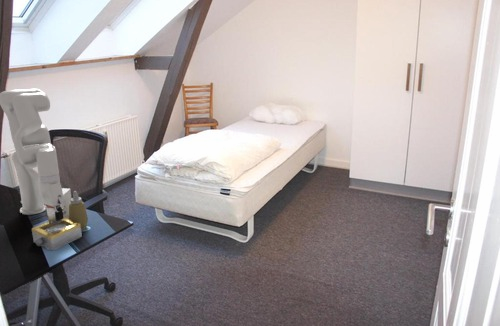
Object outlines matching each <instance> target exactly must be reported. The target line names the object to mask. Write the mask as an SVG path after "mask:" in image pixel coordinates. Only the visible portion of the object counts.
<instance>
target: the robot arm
mask: <svg viewBox="0 0 500 326" xmlns="http://www.w3.org/2000/svg"><path fill="white" fill-rule="evenodd" d="M0 107H1V109H2V111H3V113H4V114H5V116H6V117H7V120H8V125H9V131H10V136H11V140H12V142H13V146H14V150H15V151H14V152H13V153H12V157H11V158H12V163H13V165H14V168H15V172H16V176H17V180H18V181H17V182H18V188H19V194H20V199H21V200H20V203H21V204H22V205H21V206H22V207H20V209H19V213H20V214H21V213H22V215H25V216H26V215H27V216H31V215H38V214H41V213H46V214H45V215H46V218H48V216H47V209H46V205H49V206H52V207H54V208H55V211H56V212H55V218H56V221H59V220H61V219H63V208H64V207H65V204H64V197H63V192H62V184H61V182H60V181H61V179H60V170H59V165H58V162H59V161H58V155H57V149H56V147H55V145H53V144H52V142H51V141H52V140H51V136H50V131H49V129H48V128H47V126H46V125H44V124H43V121H42V119H41V116H40V113H43V112H48V111H49V110H50V108H51V101H50V99H49V97H48V95H47V94H46V92H44V91H42V90H41V89H39V88H30V89H29V88H28V89H27V88H25V89H11V90H4V91H2V92H1V91H0ZM35 168H37V171H36V170H35ZM57 203H59V204H57ZM57 206H59V207H58V208H57Z"/></svg>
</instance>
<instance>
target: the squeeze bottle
mask: <svg viewBox="0 0 500 326" xmlns="http://www.w3.org/2000/svg"><path fill="white" fill-rule="evenodd" d="M72 195H73V196H72V197H71V199H70V201H71V203H70V204H69V219H70V220H72V221H75V222H78V223H80V225H81V231H82V230H83V229H86V227H87V226H88V222H89V218H88V217H89V216H88V212H87V208H86V205H85V202H84V201H83V199H82V197H80V196H79V194H78V192H77V190H74V191H73V194H72Z"/></svg>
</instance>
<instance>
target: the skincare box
mask: <svg viewBox="0 0 500 326" xmlns="http://www.w3.org/2000/svg"><path fill="white" fill-rule="evenodd" d="M62 192H63V197H64V204H65V207H64V208H63V211H64V210H65V211H66V214H63V217H65V218H67V219H69V204H70V203H71V201H70V199H71V198H72V192H71V188H64V187H63V188H62Z"/></svg>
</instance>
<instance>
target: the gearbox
mask: <svg viewBox="0 0 500 326" xmlns="http://www.w3.org/2000/svg"><path fill="white" fill-rule="evenodd" d="M62 220H63V221H62V222H60V223H58V224H49V222H48V221H47V222H44V223H42V224H39V225H36V226H34V227H32V228H31V232H32V233H31V235H32V238H33V243H35V245H36V246H37V247H43V248H44V249H45V248H46V249H48V250H50V251H55V250H57V249H60V248H62V247H64V246H66V245H68V244H69V243H72V242H74V241H76V240H79V239H81V238H83V235H82V230H81V225H80V223H78V222H75V221H72V220H70V219H67V218H65V217H63V219H62Z"/></svg>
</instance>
